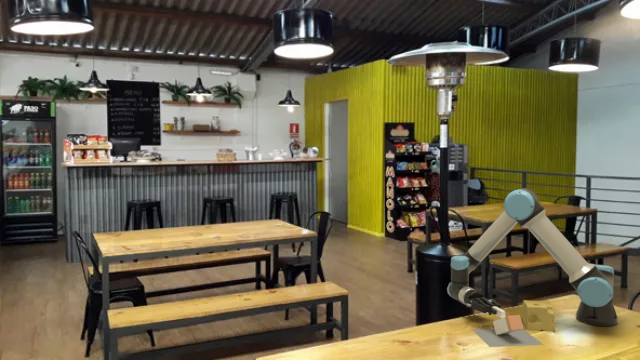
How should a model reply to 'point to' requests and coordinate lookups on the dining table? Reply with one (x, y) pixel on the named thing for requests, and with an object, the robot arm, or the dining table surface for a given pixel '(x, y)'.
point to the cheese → (538, 315)
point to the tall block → (508, 324)
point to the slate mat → (506, 338)
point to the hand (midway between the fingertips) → (503, 314)
